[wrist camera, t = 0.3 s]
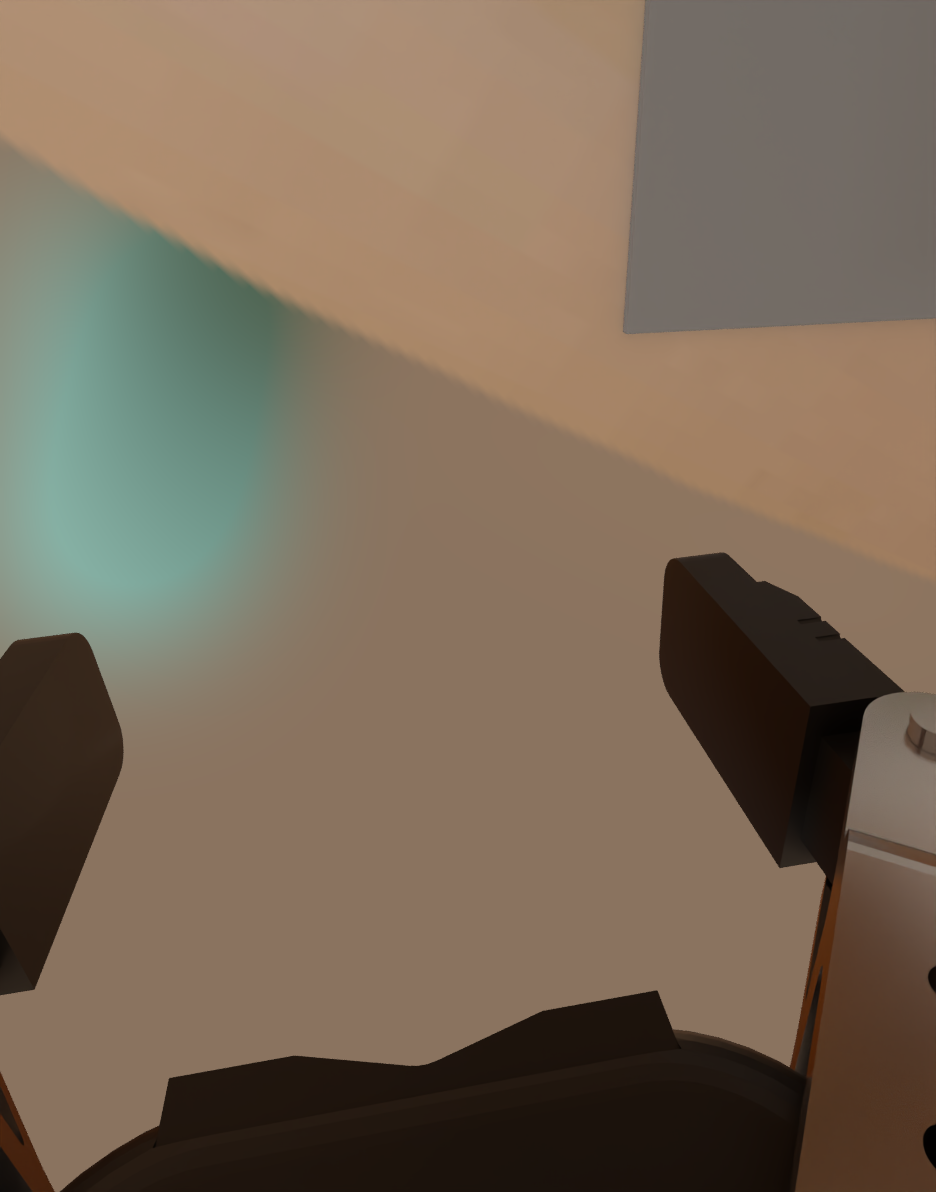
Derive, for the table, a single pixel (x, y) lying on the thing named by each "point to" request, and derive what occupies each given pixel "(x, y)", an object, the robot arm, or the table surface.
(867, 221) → the mat
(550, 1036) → the robot arm
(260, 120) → the table surface
